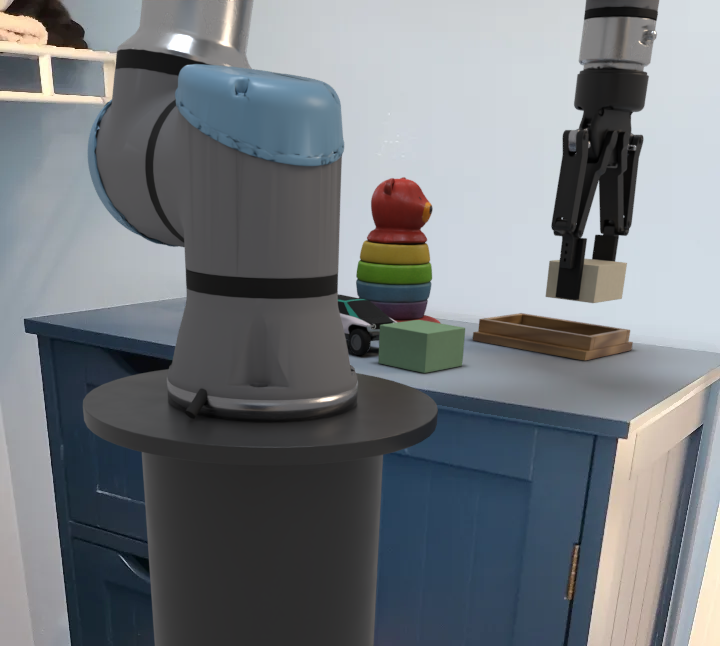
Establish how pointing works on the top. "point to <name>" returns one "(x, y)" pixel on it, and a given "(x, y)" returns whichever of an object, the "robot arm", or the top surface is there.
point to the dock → (553, 336)
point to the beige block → (593, 280)
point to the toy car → (361, 322)
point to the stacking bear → (397, 252)
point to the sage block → (421, 345)
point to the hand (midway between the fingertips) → (583, 295)
